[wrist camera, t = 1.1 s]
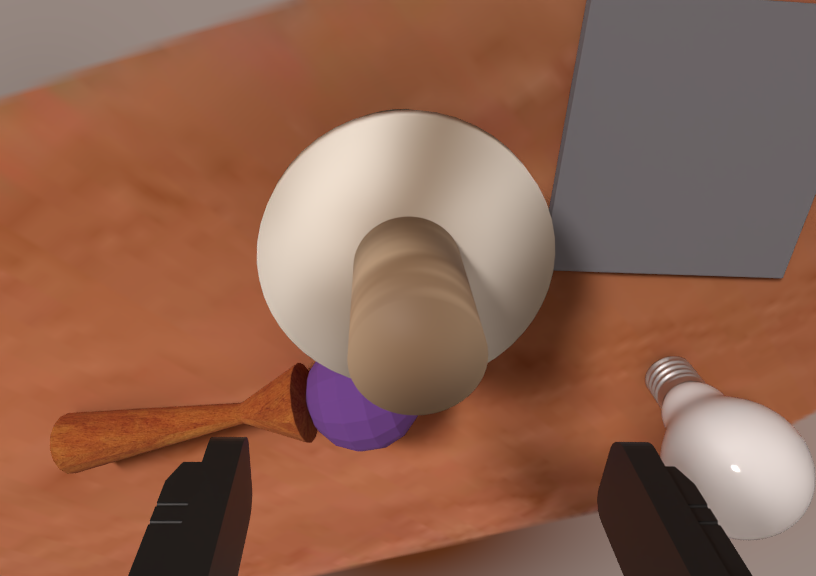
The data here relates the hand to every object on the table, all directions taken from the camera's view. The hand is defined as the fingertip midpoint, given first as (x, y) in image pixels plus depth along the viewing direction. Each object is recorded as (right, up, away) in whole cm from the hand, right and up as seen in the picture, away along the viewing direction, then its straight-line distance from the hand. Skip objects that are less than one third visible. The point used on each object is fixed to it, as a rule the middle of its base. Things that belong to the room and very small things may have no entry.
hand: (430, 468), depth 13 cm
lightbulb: (+14, -1, +22) cm, 26 cm away
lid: (-1, +5, +10) cm, 11 cm away
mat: (+13, +11, +16) cm, 23 cm away
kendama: (-10, -2, +22) cm, 24 cm away
